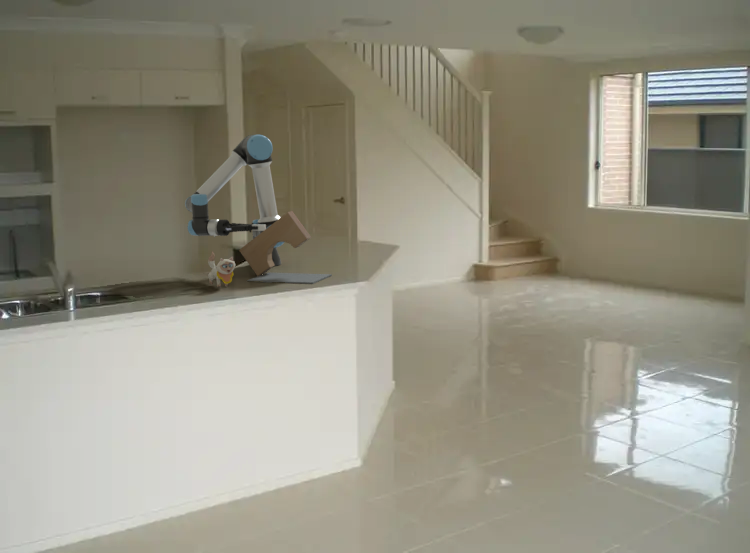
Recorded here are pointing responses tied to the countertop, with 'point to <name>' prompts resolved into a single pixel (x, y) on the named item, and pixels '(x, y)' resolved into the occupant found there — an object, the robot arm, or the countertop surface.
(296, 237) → the decorative block
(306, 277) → the mat
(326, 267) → the countertop surface
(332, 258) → the countertop surface
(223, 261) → the toy
